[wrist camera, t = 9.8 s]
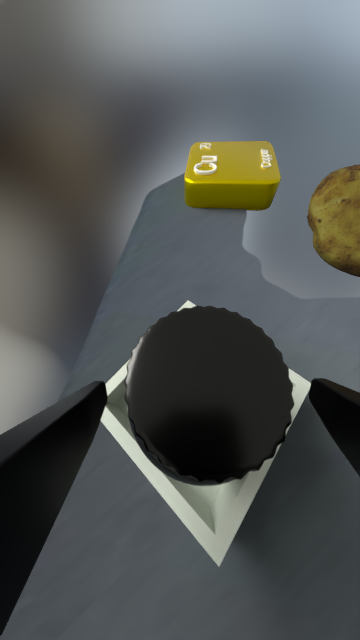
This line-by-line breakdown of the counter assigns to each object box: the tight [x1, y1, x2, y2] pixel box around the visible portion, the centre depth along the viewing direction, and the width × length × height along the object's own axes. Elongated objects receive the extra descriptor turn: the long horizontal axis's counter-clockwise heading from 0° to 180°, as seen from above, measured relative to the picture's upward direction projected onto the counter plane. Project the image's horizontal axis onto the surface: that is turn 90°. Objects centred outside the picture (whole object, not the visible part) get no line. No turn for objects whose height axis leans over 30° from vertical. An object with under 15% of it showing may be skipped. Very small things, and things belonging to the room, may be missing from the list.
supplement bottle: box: [124, 306, 294, 486], centre depth 10 cm, size 7×7×12 cm
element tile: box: [184, 141, 281, 211], centre depth 32 cm, size 15×15×5 cm
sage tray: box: [101, 301, 311, 566], centre depth 15 cm, size 12×12×4 cm
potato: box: [307, 165, 360, 277], centre depth 21 cm, size 8×13×8 cm, turn 175°
